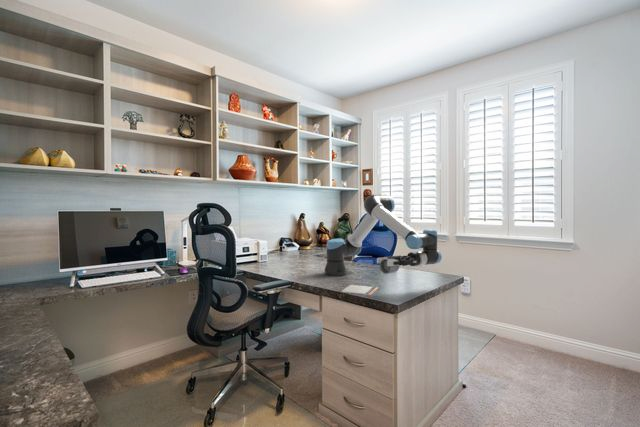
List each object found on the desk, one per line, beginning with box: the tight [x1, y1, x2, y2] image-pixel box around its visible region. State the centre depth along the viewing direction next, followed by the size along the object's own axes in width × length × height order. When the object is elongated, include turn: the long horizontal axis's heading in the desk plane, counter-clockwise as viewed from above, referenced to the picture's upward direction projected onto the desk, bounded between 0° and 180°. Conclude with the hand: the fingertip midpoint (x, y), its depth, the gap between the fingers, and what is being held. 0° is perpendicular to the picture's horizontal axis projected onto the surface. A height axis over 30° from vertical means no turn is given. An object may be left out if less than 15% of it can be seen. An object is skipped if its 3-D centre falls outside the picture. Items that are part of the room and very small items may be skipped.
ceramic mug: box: [377, 259, 400, 275], centre depth 173 cm, size 11×8×8 cm
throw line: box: [367, 286, 380, 297], centre depth 176 cm, size 17×2×1 cm, turn 155°
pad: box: [341, 284, 374, 296], centre depth 180 cm, size 15×13×1 cm
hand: (382, 262), depth 170 cm, fingers closed on ceramic mug, 8 cm apart
